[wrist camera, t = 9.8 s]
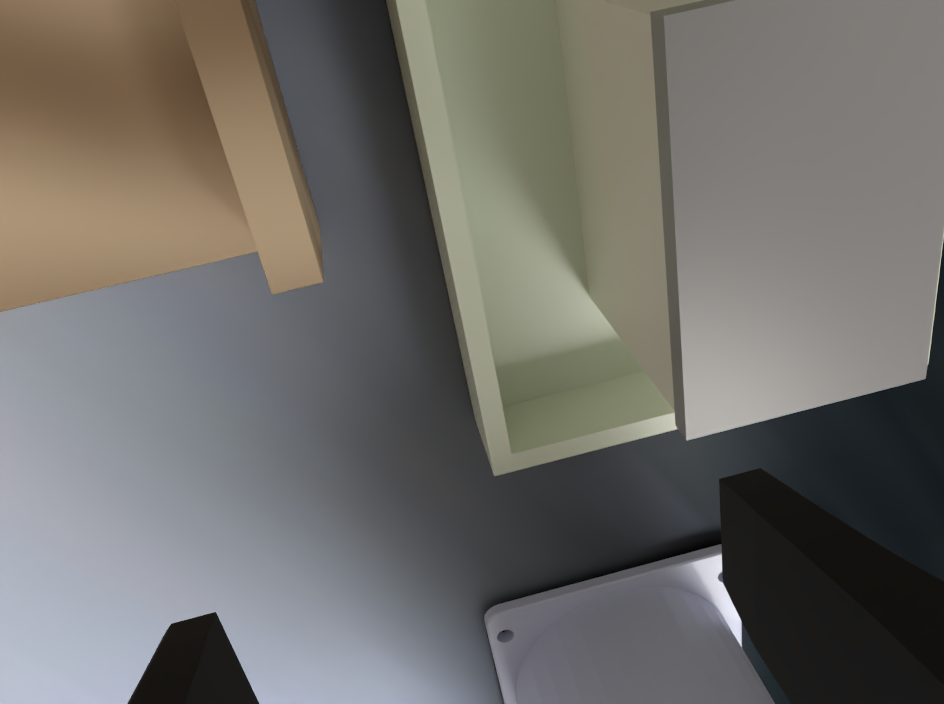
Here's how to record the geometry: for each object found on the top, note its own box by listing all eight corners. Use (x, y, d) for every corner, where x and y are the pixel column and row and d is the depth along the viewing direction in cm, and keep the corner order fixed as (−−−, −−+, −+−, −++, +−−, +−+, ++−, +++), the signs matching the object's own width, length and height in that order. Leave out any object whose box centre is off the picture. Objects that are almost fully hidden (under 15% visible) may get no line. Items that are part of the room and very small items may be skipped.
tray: (867, 319, 22) (928, 363, 20) (475, 419, 22) (494, 476, 19) (911, -268, 16) (1007, -295, 14) (352, -156, 15) (361, -166, 13)
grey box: (765, 277, 20) (922, 403, 15) (588, 321, 20) (687, 464, 15) (767, -66, 17) (978, -54, 11) (548, -20, 16) (663, 15, 11)
